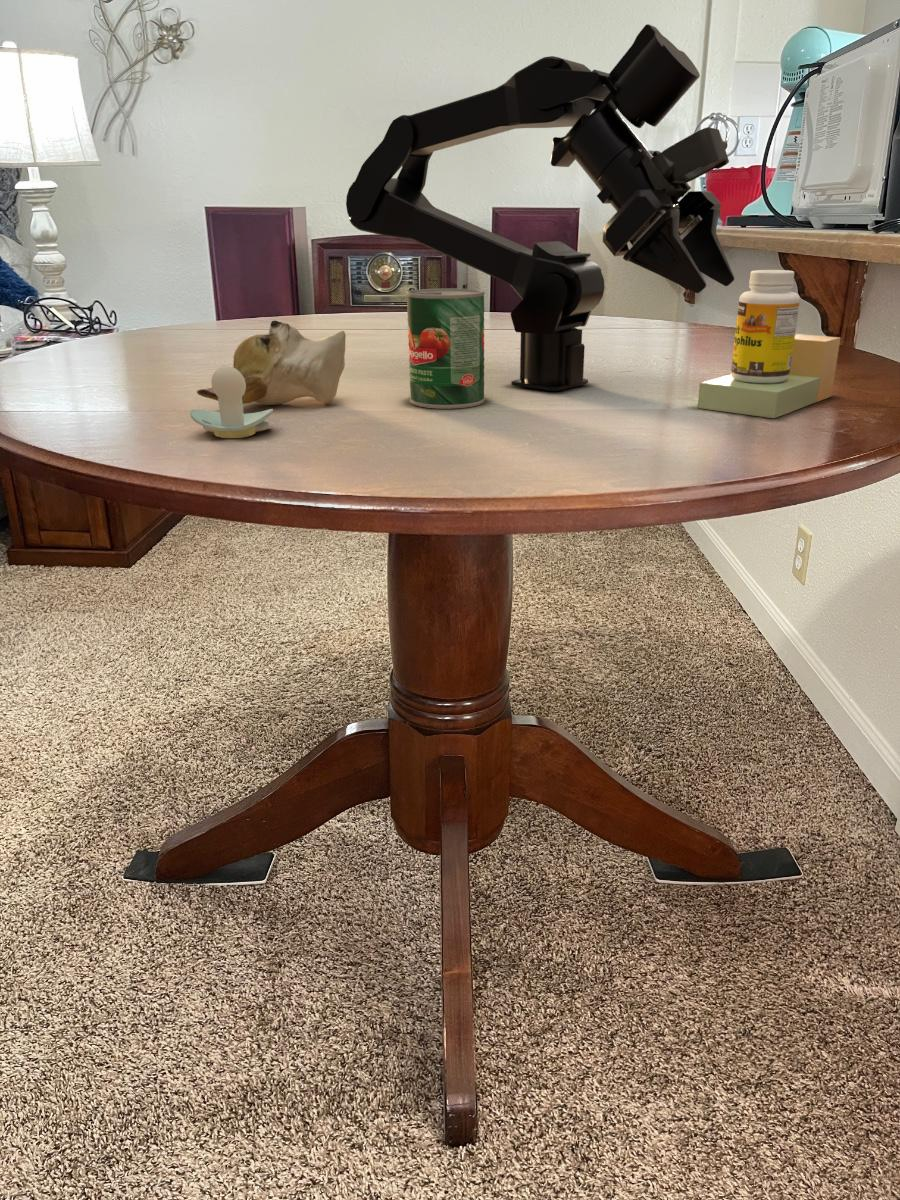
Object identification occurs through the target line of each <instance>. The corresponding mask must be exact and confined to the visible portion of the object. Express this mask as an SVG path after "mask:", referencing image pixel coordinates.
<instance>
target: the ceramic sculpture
mask: <svg viewBox="0 0 900 1200" xmlns="http://www.w3.org/2000/svg"><path fill="white" fill-rule="evenodd" d="M268 330H269V331H268V332H267V333H255V334H252V335H250V336H248V337H247V338H245V339H244V340H242V341H241V342H240V343H239V344H238V345H237V347H236V349H235V350H234V353H233V357H232V358H233V361H232V362H233V363H232V365H233V366H232V367H233V368H235V369H237V370H238V371H239V372H240V373H241V374H242V376H243V377H244V379H245V383H246V390H245V393H244V395H243V396H242V403H243V405H246V404H250V403H253V402H254V403H256V404H259V405H262V406H277V405H284V404H288V403H289V402H292V401H294V400H296V399H301V398H311V399H312V398H313V399H314V400H316V401H317V402H319V403H322V404H328V403H331V402H332V401H333V400H334V399H335V397H336V396H337V393H338V388H339V384H340V378H341V376H342V374H343V372H344V370H345V364H346V363H345V361H346V360H345V354H346V338H347V337H346V335H347V334H346V332H345V330H340V331H338V332H336V333H334V334H330V335H328V336H325V337H323V338H320V339H309V338H307V337H305V336H303V335H302V333H300V331H299V330H298V329H297V328H296V327H295V326H292V325H290V324H288V323H285V322H281V321H278V320H272V321H271V322H270V326H269V329H268ZM196 394H197V395H199V396H201V397H204V398H207V399H211V400H214V401H217V402H218V396H217V395H216V394H215V393H214V391H213V389H212V387H207V388H200V389H198V390H196Z"/></svg>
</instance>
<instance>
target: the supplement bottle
mask: <svg viewBox="0 0 900 1200" xmlns="http://www.w3.org/2000/svg"><path fill="white" fill-rule="evenodd" d="M794 278H795V271H793V270H788V269H784V270H783V269H757V270H751V271H750V276H749V281H748V288H749V289H750V290H747V291H744V292H742V293H741V294H740V295H739V300H738V305H737V306H738V307H737V315H736V316H737V317H736V326H735V334H734V342H733V351H732V359H731V371H730V374H731V375H732V377H733V378H734V379H736V380H738V381H742V382H748V383H759V384H769V383H779V382H783V381H785V380H786V379H787V378H788V377H789V373H790V366H791V359H792V352H793V345H794V339H795V334H796V331H797V330H796V329H797V323H798V317H799V316H798V315H799V309H800V308H799V307H800V300H801V297H800V295H799V294H798V293H796V292H794V291H791V290H792V289H793V288H794V284H795V283H794V281H795V280H794Z"/></svg>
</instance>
